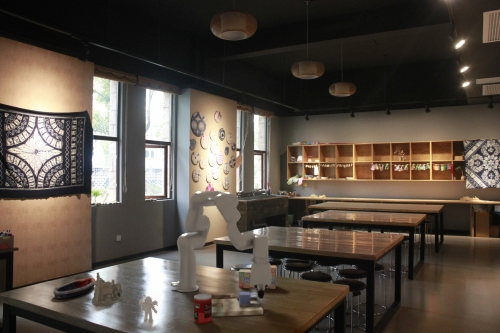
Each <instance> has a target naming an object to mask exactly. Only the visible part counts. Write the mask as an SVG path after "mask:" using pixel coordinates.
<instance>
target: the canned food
mask: <svg viewBox="0 0 500 333" xmlns="http://www.w3.org/2000/svg"><path fill="white" fill-rule="evenodd" d="M212 318H213V317H212V294H209V293H198V294H195V295H194V296H193V321H194V323H196V324H200V325H205V324H209V323H211V322H212V320H213V319H212Z"/></svg>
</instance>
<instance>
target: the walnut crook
mask: <svg viewBox="0 0 500 333" xmlns="http://www.w3.org/2000/svg"><path fill="white" fill-rule="evenodd" d="M211 296H212V299H236V295H235V293H233V292H232V293H231V292H229V293H211Z"/></svg>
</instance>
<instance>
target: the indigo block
mask: <svg viewBox="0 0 500 333" xmlns="http://www.w3.org/2000/svg"><path fill="white" fill-rule="evenodd" d="M238 297H239V304H245V303H250V297H251V293H250V291H239V292H238Z"/></svg>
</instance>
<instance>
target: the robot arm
mask: <svg viewBox="0 0 500 333" xmlns="http://www.w3.org/2000/svg"><path fill="white" fill-rule="evenodd" d="M239 201H240V200H239V198H238V196H237V195H236V194H235V193H233V192H227V191H222V190H203V191H195V192H194V193H192V195H191V196H190V199H189V207H188V210H187V214H186V216H185V217H186V218H185V221H184V226H183V227H184V230H185V231H186V233H183V234H181V235H179V237H178V238H177V240H176V244H177V250H178V281H176V282H170V287H176V288H175V290H176V292H180V293H191V292H192V293H193V292H195V291H199V288H200V287H199V286H198V285H197V257H196V254H195V252H194V250H196V249H200V248H203V247H204V246H205V245H206V242H207V239H208V236H209V232H210V228H211V221H210V218H209V217H208V215H205V214H204V211H205V210H204V207H205V208H206V207H216V209H217V210H218V213H220V215H221V217H222V218H223V220H224V221H225V222H226V233H227V234H226V235H227V237H228V239H229V240H230V243H231V244H232V245H233V247H234V248H235V249H237V250H238V251H245V250H249V249H250V250H251V249H252V257H251V258H249V261H250V262H252V263H251V265H250V267H251V268H250V270H251V274H250V281H251V282H250V286H251V287H255V288H254V289H256V290H257V297H259V299H260V300H261V299H262V300H263V299H264V297H265V290H266V288H267V287H268V286H271V285H272V284H271V282H272V277H271V266H270V265H271V263H270V262H269V237H268V236H267V235H265V234H257V233H254V232H249V233H244V234H242V233H241V232H240V230H239V228H238V226H237V222H239V220H240V219H241V213H240V211H239V210H238V209H237V207H238V205H239ZM259 285H262V288H260V286H259Z"/></svg>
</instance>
